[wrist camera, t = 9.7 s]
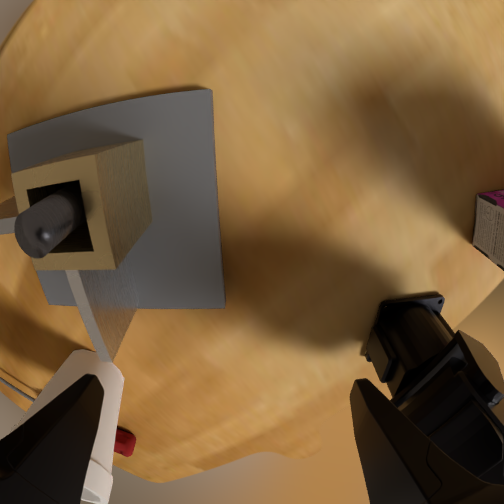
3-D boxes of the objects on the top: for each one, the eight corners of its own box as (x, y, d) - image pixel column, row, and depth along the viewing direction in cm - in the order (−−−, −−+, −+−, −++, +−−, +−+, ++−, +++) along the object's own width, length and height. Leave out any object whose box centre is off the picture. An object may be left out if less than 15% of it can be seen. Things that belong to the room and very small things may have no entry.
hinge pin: (119, 161, 16) (39, 206, 9) (128, 192, 17) (57, 254, 9) (92, 169, 16) (8, 217, 9) (100, 199, 17) (25, 261, 10)
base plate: (212, 90, 15) (210, 88, 14) (225, 300, 21) (225, 308, 20) (15, 132, 15) (7, 134, 14) (54, 297, 21) (48, 304, 20)
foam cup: (106, 331, 23) (47, 460, 11) (155, 397, 26) (131, 510, 15) (41, 342, 24) (-15, 439, 12) (89, 400, 28) (57, 492, 16)
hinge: (143, 139, 15) (94, 154, 10) (167, 303, 20) (146, 365, 15) (11, 167, 15) (-47, 192, 10) (46, 299, 20) (10, 346, 15)
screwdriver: (-20, 345, 25) (-33, 361, 22) (138, 431, 30) (133, 453, 27) (-16, 360, 26) (-27, 376, 23) (134, 440, 32) (129, 461, 28)
